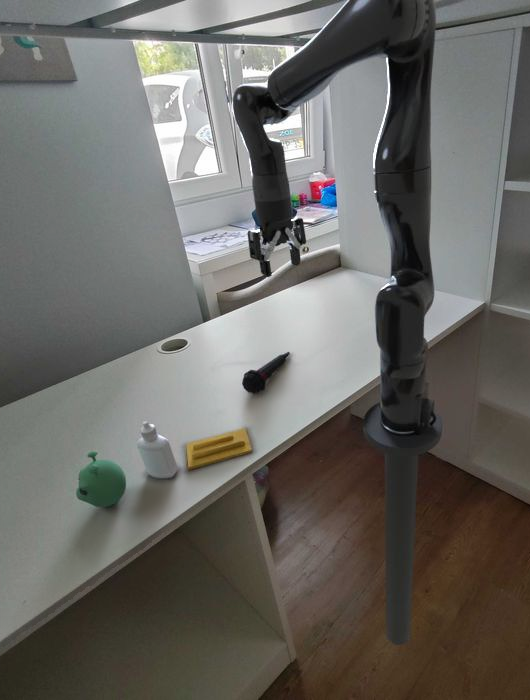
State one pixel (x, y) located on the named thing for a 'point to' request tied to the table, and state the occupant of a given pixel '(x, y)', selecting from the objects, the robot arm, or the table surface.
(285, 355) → the microphone
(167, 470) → the eye dropper bottle
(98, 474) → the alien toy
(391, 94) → the robot arm
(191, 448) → the soap dish
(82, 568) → the table surface
